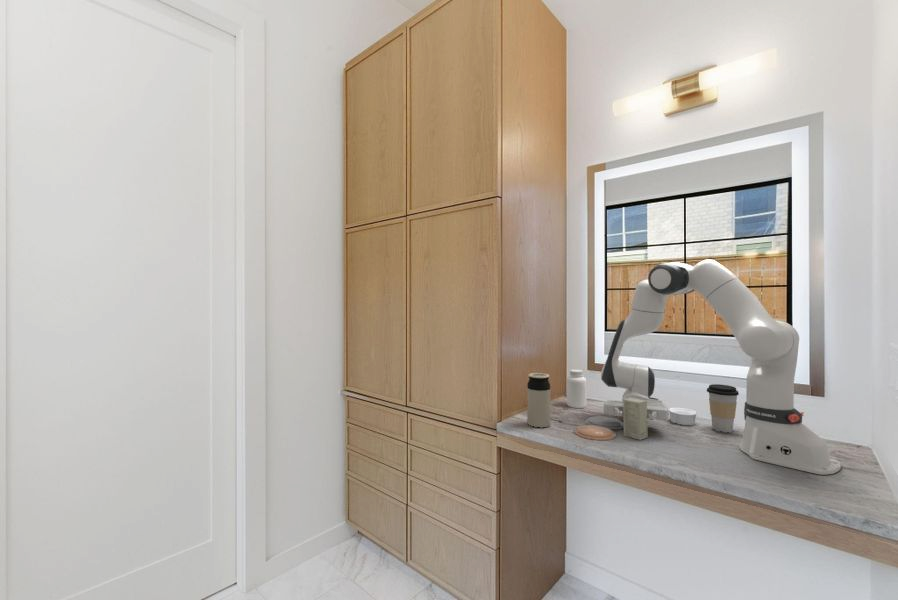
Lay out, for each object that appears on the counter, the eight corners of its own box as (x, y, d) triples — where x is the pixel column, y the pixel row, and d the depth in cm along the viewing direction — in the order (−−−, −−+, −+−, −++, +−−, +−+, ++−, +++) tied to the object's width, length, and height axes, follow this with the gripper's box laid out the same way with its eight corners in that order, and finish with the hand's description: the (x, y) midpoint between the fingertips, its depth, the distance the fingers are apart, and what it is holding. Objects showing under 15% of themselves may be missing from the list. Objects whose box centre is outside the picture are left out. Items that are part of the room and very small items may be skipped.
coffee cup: (744, 435, 139) (744, 390, 139) (712, 433, 141) (713, 388, 141) (730, 426, 148) (731, 384, 148) (701, 424, 150) (702, 383, 150)
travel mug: (554, 425, 148) (555, 375, 148) (539, 429, 144) (539, 377, 144) (538, 420, 155) (538, 371, 155) (522, 423, 150) (522, 374, 150)
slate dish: (631, 425, 149) (631, 422, 149) (608, 432, 142) (608, 428, 142) (600, 416, 160) (600, 413, 160) (578, 422, 153) (578, 418, 153)
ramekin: (702, 424, 150) (702, 412, 150) (684, 427, 147) (684, 415, 147) (680, 418, 159) (680, 406, 159) (663, 420, 155) (663, 409, 155)
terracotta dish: (623, 435, 138) (623, 432, 138) (598, 443, 131) (598, 439, 131) (591, 425, 149) (591, 421, 149) (566, 431, 142) (566, 428, 142)
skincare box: (647, 437, 136) (648, 400, 136) (640, 440, 133) (640, 402, 133) (630, 432, 141) (630, 396, 141) (622, 435, 139) (622, 398, 138)
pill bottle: (563, 403, 179) (564, 369, 178) (581, 403, 179) (581, 368, 179) (571, 408, 171) (571, 372, 171) (589, 408, 172) (590, 372, 171)
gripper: (604, 394, 153) (601, 403, 141) (666, 399, 145) (670, 409, 132) (604, 411, 153) (601, 421, 141) (666, 417, 145) (669, 429, 132)
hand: (635, 415), depth 136 cm, fingers open, 8 cm apart
